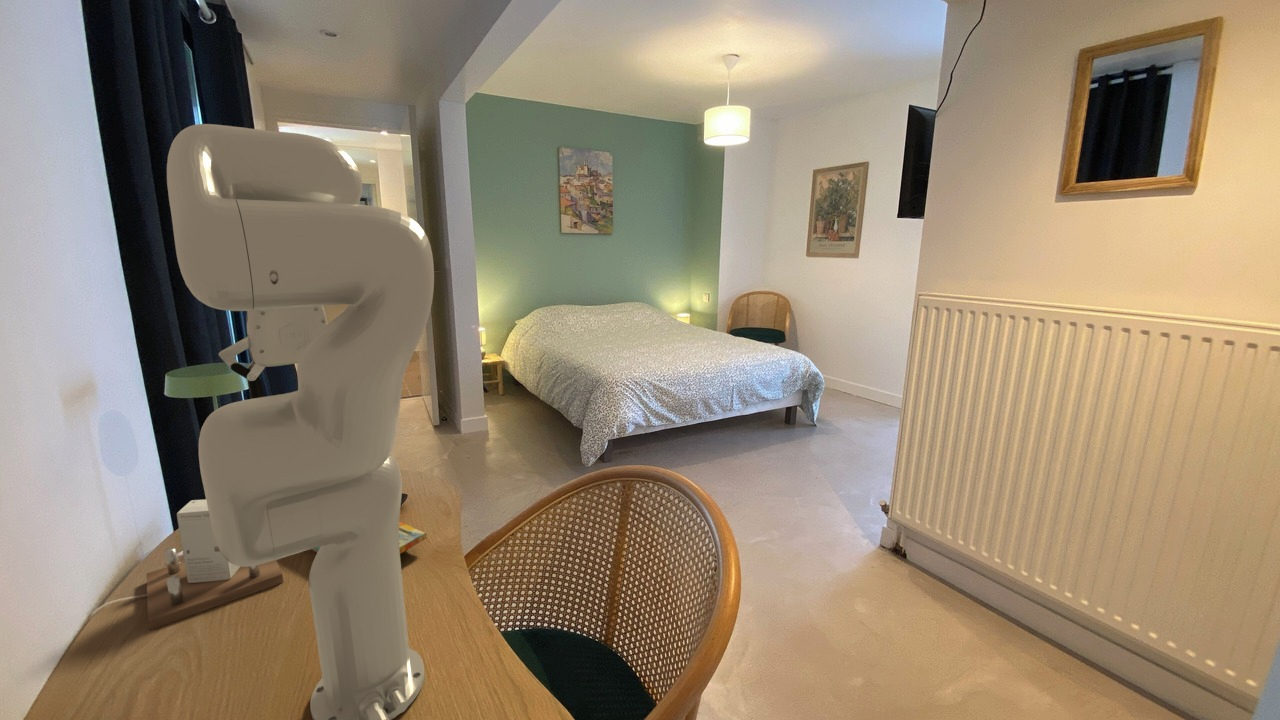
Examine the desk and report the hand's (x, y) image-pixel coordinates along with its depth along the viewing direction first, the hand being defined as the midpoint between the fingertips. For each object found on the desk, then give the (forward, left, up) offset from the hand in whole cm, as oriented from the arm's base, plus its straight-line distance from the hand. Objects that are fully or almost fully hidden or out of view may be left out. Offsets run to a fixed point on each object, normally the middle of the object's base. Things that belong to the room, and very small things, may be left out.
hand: (298, 397), depth 82 cm
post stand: (+7, +13, -30) cm, 34 cm away
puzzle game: (+1, -7, -31) cm, 31 cm away
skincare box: (+7, +13, -29) cm, 32 cm away
